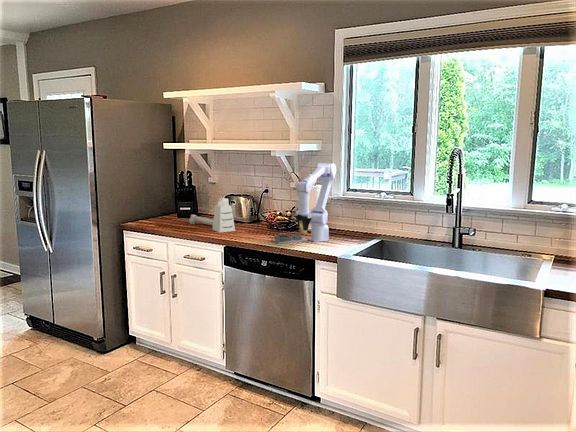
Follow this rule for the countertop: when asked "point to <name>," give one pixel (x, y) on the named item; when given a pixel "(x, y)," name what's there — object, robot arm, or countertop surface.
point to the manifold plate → (288, 239)
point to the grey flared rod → (200, 220)
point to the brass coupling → (302, 228)
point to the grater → (223, 216)
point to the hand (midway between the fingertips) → (303, 229)
